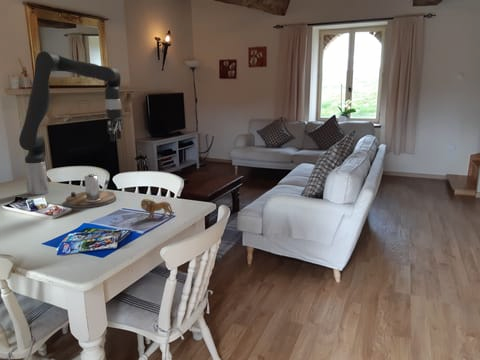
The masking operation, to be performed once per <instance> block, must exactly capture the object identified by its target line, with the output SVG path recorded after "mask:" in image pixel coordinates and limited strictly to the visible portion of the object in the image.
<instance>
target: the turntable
mask: <svg viewBox="0 0 480 360" xmlns="http://www.w3.org/2000/svg"><path fill="white" fill-rule="evenodd" d="M99 194H100V198H101V200H100V201H98V202H86V199H87V198H86V191H83V192H78V193H77V192H76V191H72V192H70V195H69V196H67V197H66V199H65V201H66V203H67V204H70V205H75V206H89V205H97V204H102V203H106V202H109V201H111V200H113V199H114V198H115V196H116V194H115V193H114V192H113V191H109V190H108V191H107V190H99Z"/></svg>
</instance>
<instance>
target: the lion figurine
mask: <svg viewBox="0 0 480 360" xmlns="http://www.w3.org/2000/svg"><path fill="white" fill-rule="evenodd" d="M140 202H141V203H140V208H141V210H144V211H146V213H149V215H148V218H150V219H151V220H152V219H154V218H155V212H158V211H161V210H162V209H163V212H164V213H162V214H161V215H162V216H165V215H166V214H167V213H169V215H168V217H173V214H175V212H174V211H173V209H172V207H171V204H170V202H167V201H160V202H155V201H154V200H151V199H148V198H143V199H142V200H140Z"/></svg>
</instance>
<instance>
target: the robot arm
mask: <svg viewBox="0 0 480 360" xmlns="http://www.w3.org/2000/svg"><path fill="white" fill-rule="evenodd" d="M52 72H68V73H73V74H76V75H78V76H81V77H84V78H90V79H94V80H100V81H103V82H106V85H107V86H106V87H105V88H104V95H105V104H104V105H105V113H106V114H105V116H106V119H109V120H107V121H106V127H107V128H106V130H107V131H106V132H107V134H109V139H110V142H115V141H116V139H117V140H121V139H122V131H123V128H124V127H123V121H122V117H123V114H122V103H121V96H120V95H121V94H120V88H121V81H122V80H121V73H120V71H119V70H118V69H117V68H115V67H112V66H111V67H109V66H104V65H98V64H96V63H92V62H86V61H81V60H76V59H75V60H74V59H70V58H68V57H67V58H66V57H63V56H61V55H59V54H56V53H55V52H51V51H47V50H45V51H44V50H43V51H40V52H39V53H37V55H36V57H35V64H34V74H33V80H32V85H31V90H30V95H29V98H28V104H27V110H26V114H25V118H24V123H23V126H22V130H21V131H20V135H19V138H18V139H19V142H18V143H19V145H20V147H21V148H22V149H23V150H25V151H28V152H27V154H26V156H25V157H24V163H25V169H26V176H25V183H26V190H27V194H28V195H32V196H39V195H44V194H48V193H49V192H50V190H49V183H48V174H47V167H46V160H45V159H46V154H47V152H46V143H45V142H46V141H45V138H44V137H45V136H44V135H43V134H42V133H41V132H40V131H39V127H40V125H41V123H42V122H43V120H44V118H45V117H46V115H47V114H48V111H49V108H50V103H51V92H50V91H51V90H50V87H49V86H50V85H49V83H50V82H49V81H50V76H51V73H52ZM115 133H116V134H115ZM115 135H116V136H115Z"/></svg>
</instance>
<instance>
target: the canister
mask: <svg viewBox="0 0 480 360" xmlns="http://www.w3.org/2000/svg"><path fill="white" fill-rule="evenodd" d="M99 186H100V183H99V175H97V174H93V173H92V174H91V173H90V174H88V175H85V176H84V187H85V192H86V198H87V199H86V202H98V201H100V200H101V198H100V194H99V191H100V187H99Z"/></svg>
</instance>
